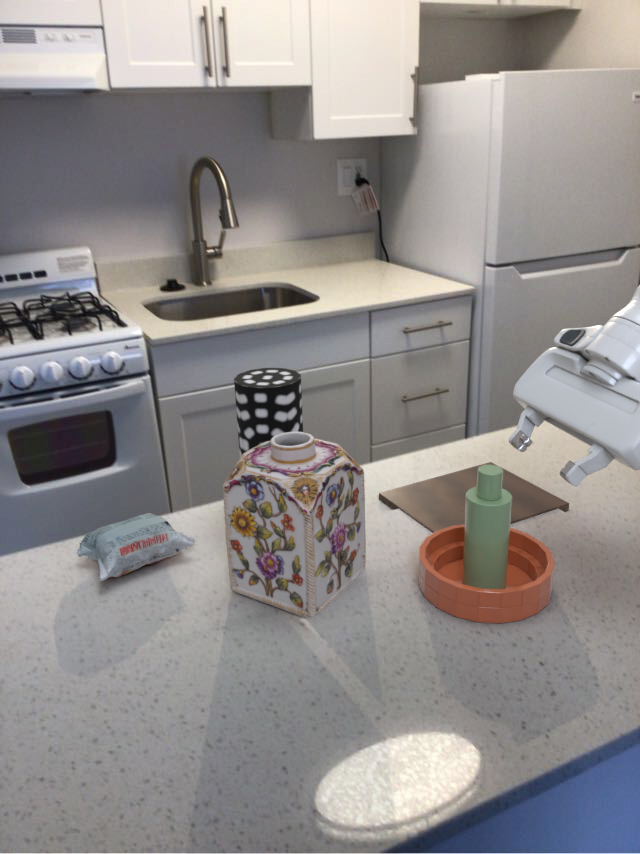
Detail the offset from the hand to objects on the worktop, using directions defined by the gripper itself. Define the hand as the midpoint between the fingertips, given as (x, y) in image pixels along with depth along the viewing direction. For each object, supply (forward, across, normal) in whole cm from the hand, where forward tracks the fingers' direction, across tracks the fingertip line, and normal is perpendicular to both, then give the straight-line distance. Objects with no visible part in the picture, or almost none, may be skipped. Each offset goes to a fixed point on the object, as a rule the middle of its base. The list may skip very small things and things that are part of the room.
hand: (539, 463), depth 81 cm
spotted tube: (+27, +24, +6) cm, 37 cm away
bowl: (+14, 0, -6) cm, 16 cm away
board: (+8, +18, -12) cm, 24 cm away
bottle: (+14, 0, -5) cm, 15 cm away
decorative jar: (+28, +9, +7) cm, 30 cm away
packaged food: (+40, +21, +19) cm, 49 cm away
